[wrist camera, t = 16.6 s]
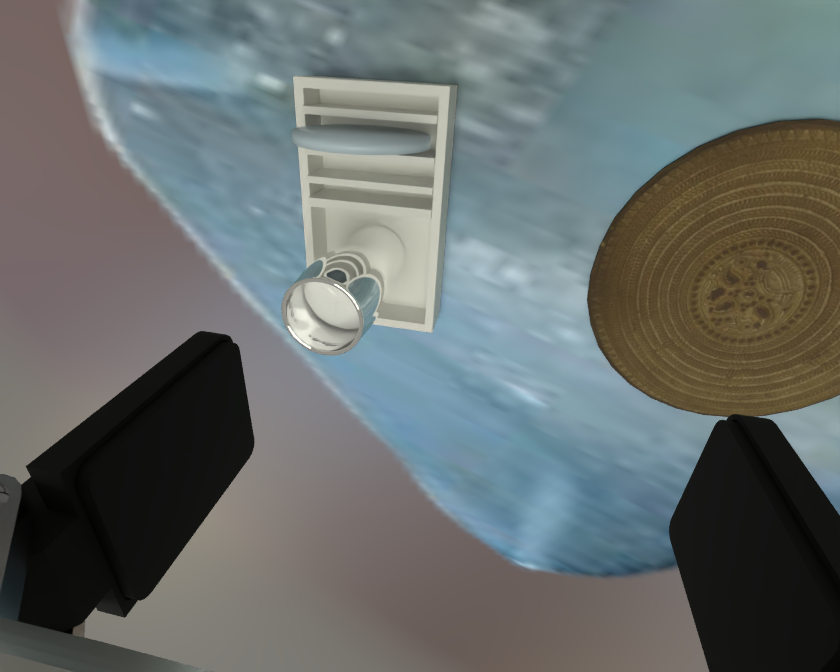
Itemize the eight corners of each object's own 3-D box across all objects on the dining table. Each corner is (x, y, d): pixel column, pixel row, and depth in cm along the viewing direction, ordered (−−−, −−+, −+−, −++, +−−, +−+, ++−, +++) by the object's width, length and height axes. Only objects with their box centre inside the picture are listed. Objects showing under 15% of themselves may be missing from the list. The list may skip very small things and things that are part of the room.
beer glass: (361, 206, 46) (297, 257, 34) (422, 244, 47) (381, 308, 34) (334, 262, 50) (266, 327, 37) (390, 296, 51) (342, 373, 38)
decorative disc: (631, 109, 38) (1102, 135, 32) (625, 107, 40) (1058, 130, 35) (564, 399, 52) (882, 454, 46) (563, 382, 54) (863, 432, 49)
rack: (314, 75, 43) (245, 77, 32) (457, 85, 41) (432, 89, 30) (326, 297, 53) (277, 351, 43) (439, 313, 52) (416, 373, 41)
